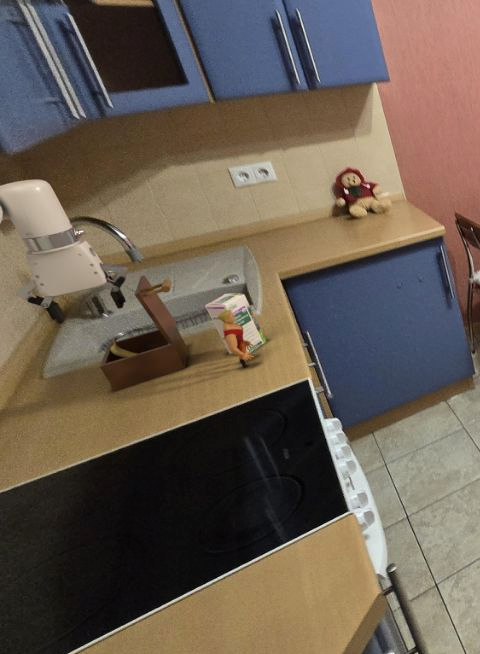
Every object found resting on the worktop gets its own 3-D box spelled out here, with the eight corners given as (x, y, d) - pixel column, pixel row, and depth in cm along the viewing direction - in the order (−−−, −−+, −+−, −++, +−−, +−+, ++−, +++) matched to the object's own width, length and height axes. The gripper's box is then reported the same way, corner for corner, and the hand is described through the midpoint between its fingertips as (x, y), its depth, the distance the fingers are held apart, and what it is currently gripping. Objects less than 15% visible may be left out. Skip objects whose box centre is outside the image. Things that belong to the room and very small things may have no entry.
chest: (116, 393, 119) (99, 366, 116) (123, 368, 129) (108, 343, 126) (185, 370, 126) (171, 344, 123) (187, 348, 135) (175, 324, 132)
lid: (134, 294, 116) (163, 285, 119) (140, 276, 125) (167, 268, 128) (168, 343, 122) (195, 334, 125) (172, 323, 132) (197, 314, 134)
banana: (101, 353, 120) (114, 339, 120) (102, 349, 121) (114, 335, 121) (144, 366, 126) (156, 352, 126) (144, 362, 127) (155, 348, 127)
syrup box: (249, 356, 130) (225, 304, 123) (229, 355, 131) (203, 304, 124) (267, 343, 135) (245, 292, 128) (247, 343, 136) (224, 292, 129)
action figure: (259, 371, 123) (233, 315, 117) (241, 377, 121) (213, 321, 115) (258, 353, 130) (234, 300, 124) (241, 359, 129) (215, 305, 122)
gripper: (110, 226, 117) (145, 295, 124) (-3, 247, 108) (41, 320, 115) (105, 234, 111) (141, 306, 118) (-15, 257, 102) (32, 334, 109)
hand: (92, 313), depth 117 cm, fingers open, 9 cm apart
